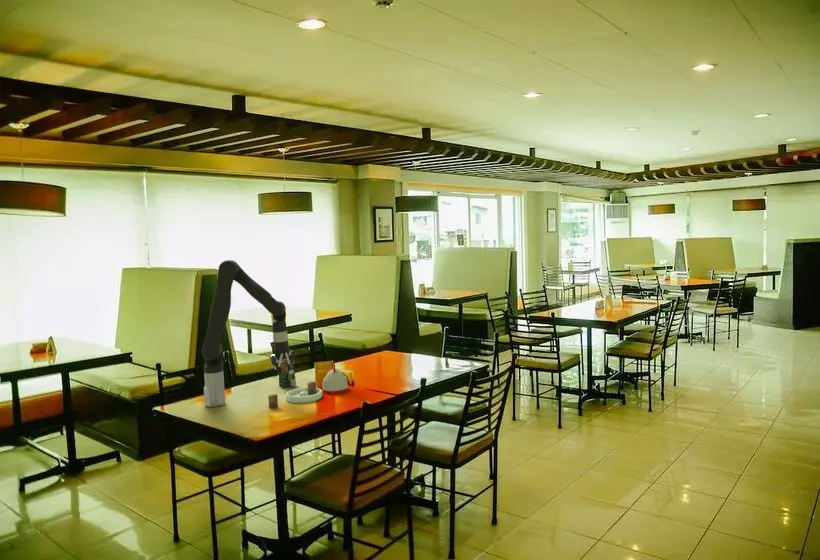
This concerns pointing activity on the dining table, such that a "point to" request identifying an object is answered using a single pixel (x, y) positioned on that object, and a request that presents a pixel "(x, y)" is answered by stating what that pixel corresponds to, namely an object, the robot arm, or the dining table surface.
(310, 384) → the bead
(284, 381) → the coffee jar
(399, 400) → the dining table surface
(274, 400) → the brown short cylinder
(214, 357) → the robot arm
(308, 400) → the tray
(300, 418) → the dining table surface
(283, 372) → the bead
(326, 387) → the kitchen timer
